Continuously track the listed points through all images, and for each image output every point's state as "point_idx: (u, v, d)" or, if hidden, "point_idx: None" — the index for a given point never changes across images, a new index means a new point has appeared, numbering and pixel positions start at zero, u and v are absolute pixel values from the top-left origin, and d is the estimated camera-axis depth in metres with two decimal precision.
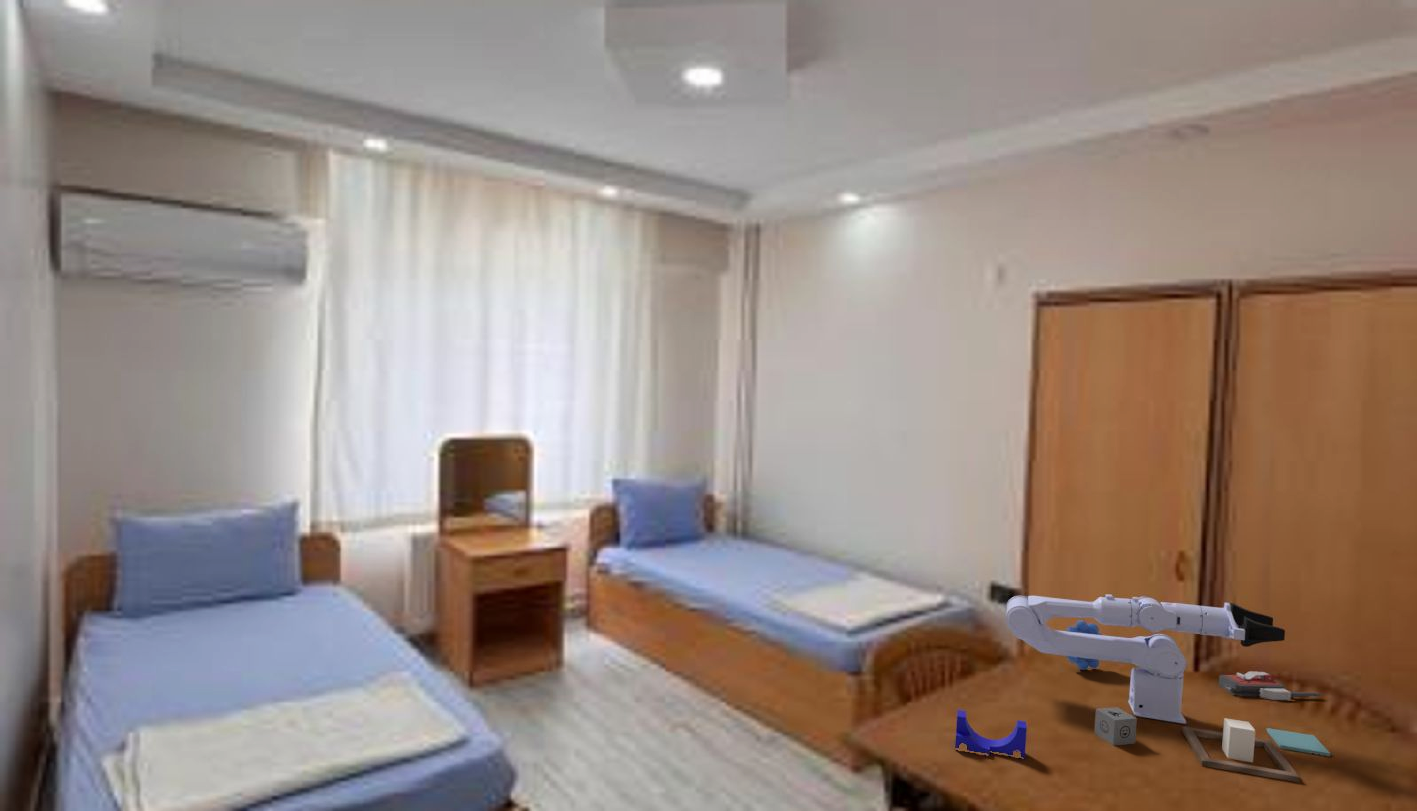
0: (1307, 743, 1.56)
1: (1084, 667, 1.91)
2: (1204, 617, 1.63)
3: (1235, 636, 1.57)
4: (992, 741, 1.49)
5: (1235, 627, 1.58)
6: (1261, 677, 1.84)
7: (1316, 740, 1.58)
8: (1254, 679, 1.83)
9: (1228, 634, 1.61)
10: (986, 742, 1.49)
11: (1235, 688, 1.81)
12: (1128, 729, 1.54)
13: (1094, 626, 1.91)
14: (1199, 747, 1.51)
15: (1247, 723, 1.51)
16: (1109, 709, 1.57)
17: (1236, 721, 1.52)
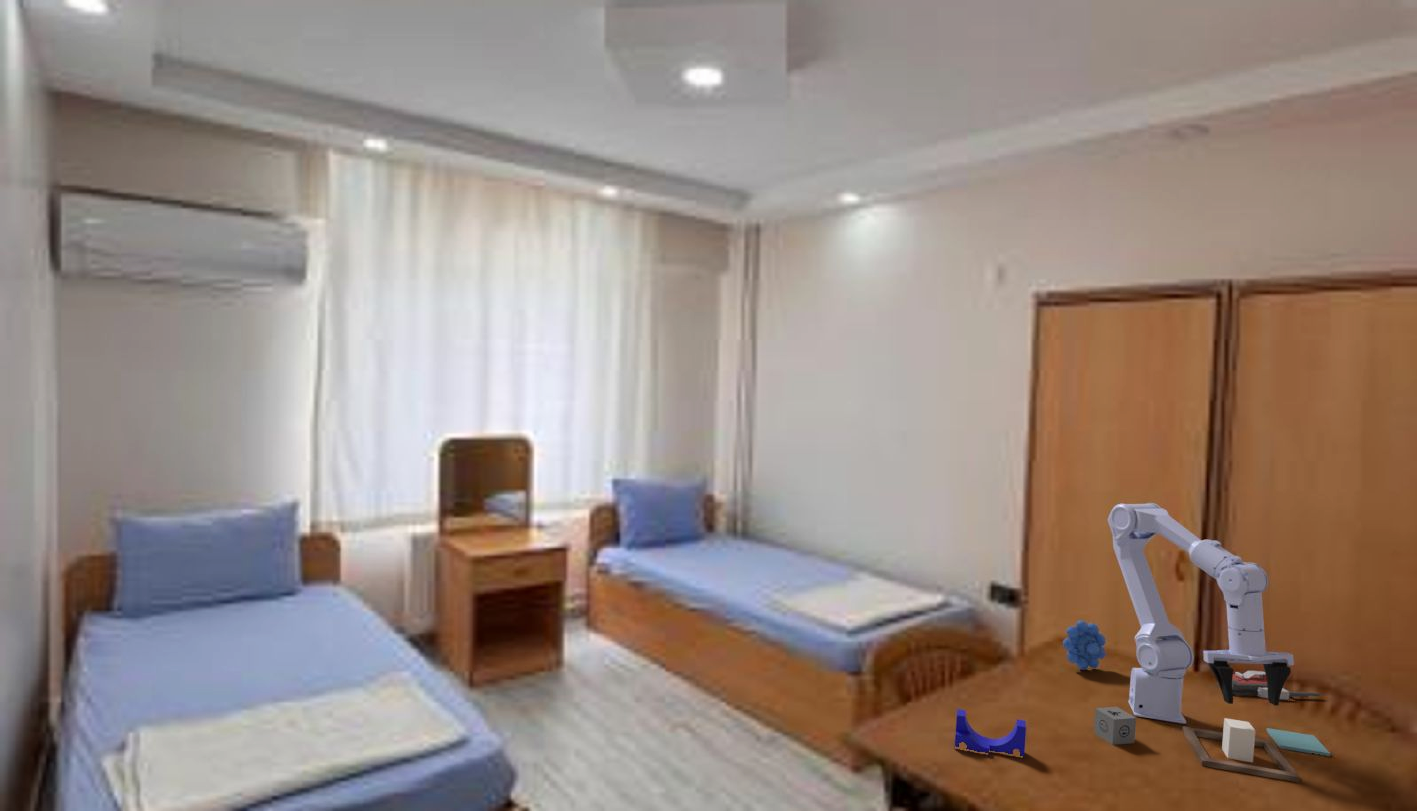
0: (1307, 743, 1.56)
1: (1084, 667, 1.91)
2: (1234, 631, 1.51)
3: (1204, 652, 1.53)
4: (992, 740, 1.50)
5: (1213, 655, 1.51)
6: (1260, 676, 1.84)
7: (1316, 740, 1.58)
8: (1253, 678, 1.84)
9: (1228, 651, 1.53)
10: (986, 741, 1.49)
11: (1233, 687, 1.81)
12: (1127, 728, 1.54)
13: (1094, 626, 1.91)
14: (1199, 747, 1.51)
15: (1247, 723, 1.51)
16: (1108, 709, 1.58)
17: (1236, 721, 1.52)
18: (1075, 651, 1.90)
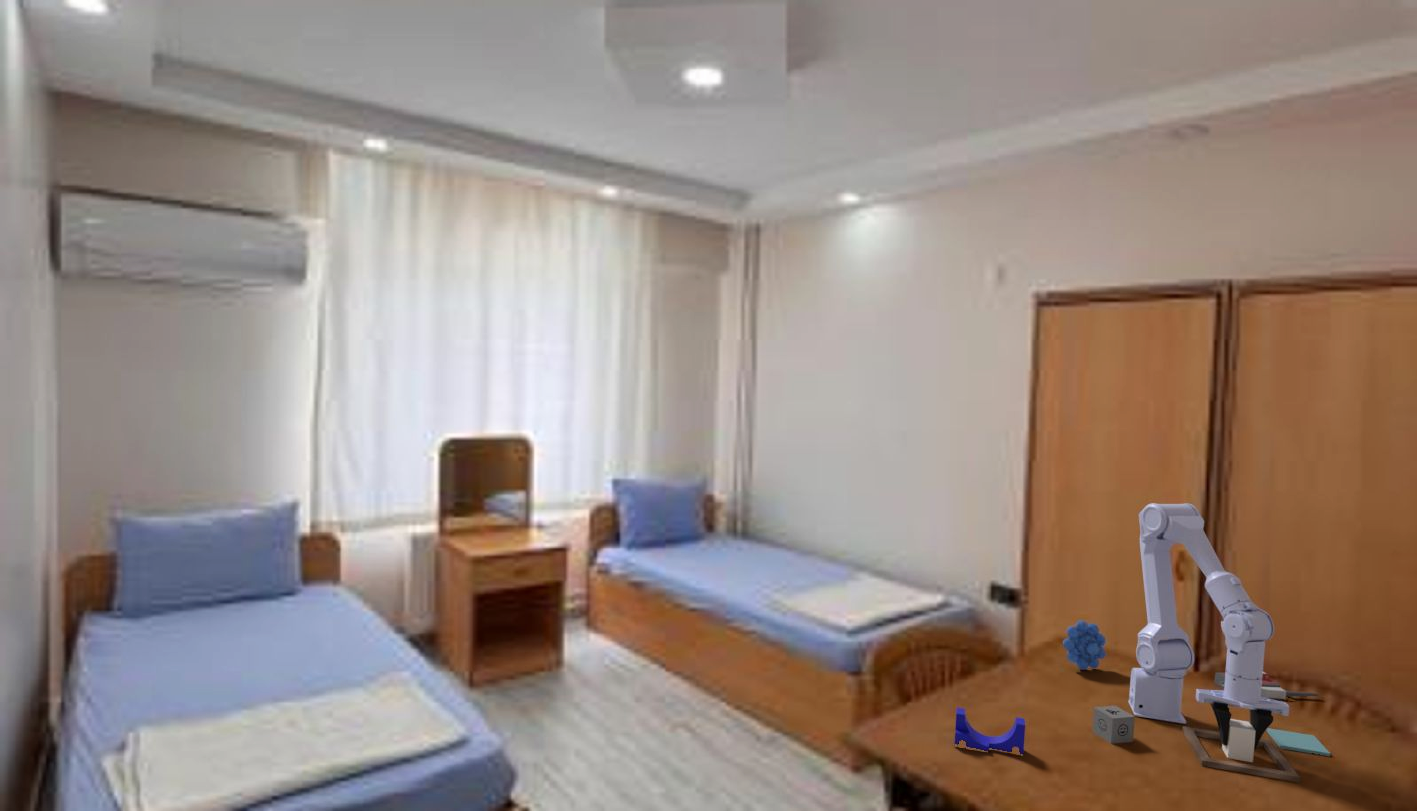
0: (1307, 743, 1.56)
1: (1084, 667, 1.91)
2: (1230, 675, 1.50)
3: (1196, 691, 1.53)
4: (991, 738, 1.50)
5: (1204, 695, 1.51)
6: None
7: (1316, 740, 1.58)
8: None
9: (1222, 692, 1.53)
10: (985, 739, 1.50)
11: None
12: (1126, 727, 1.54)
13: (1094, 626, 1.91)
14: (1199, 747, 1.51)
15: (1247, 723, 1.51)
16: (1107, 707, 1.58)
17: (1236, 721, 1.52)
18: (1075, 651, 1.90)
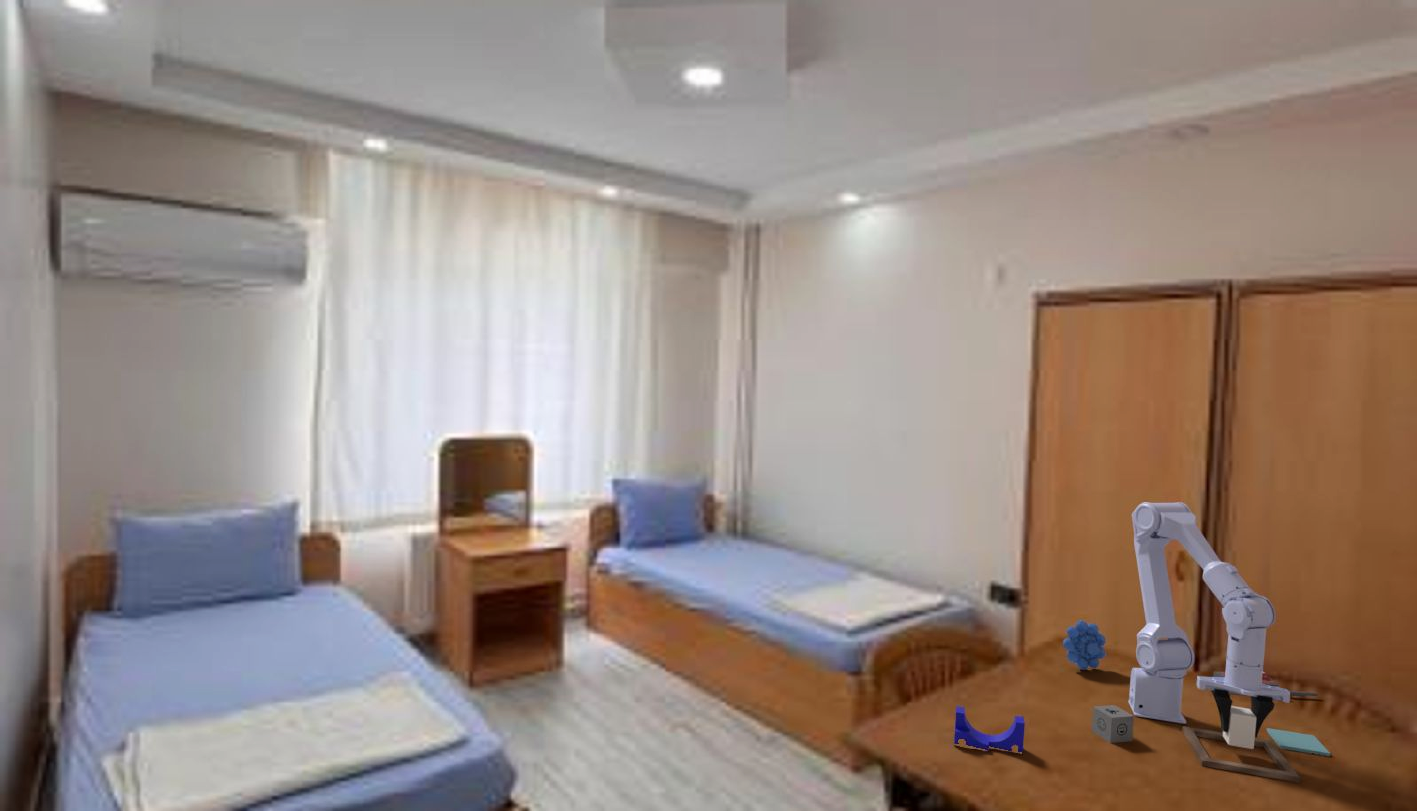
0: (1307, 743, 1.56)
1: (1084, 667, 1.91)
2: (1231, 662, 1.50)
3: (1197, 678, 1.53)
4: (991, 737, 1.51)
5: (1205, 682, 1.51)
6: None
7: (1316, 740, 1.58)
8: None
9: (1223, 679, 1.53)
10: (985, 738, 1.50)
11: None
12: (1125, 726, 1.55)
13: (1094, 626, 1.91)
14: (1199, 747, 1.51)
15: (1248, 710, 1.51)
16: (1106, 707, 1.58)
17: (1237, 708, 1.52)
18: (1075, 651, 1.90)
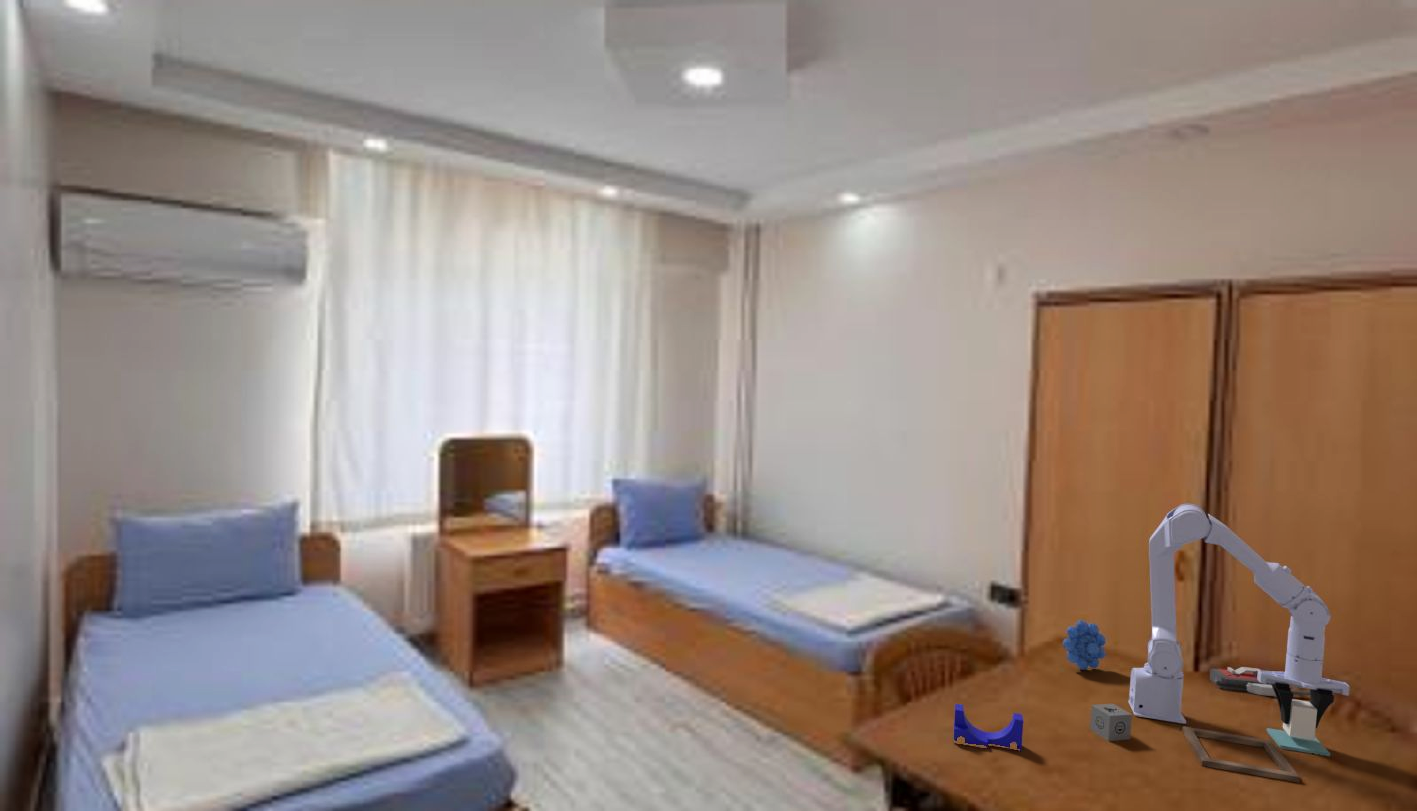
0: (1307, 743, 1.56)
1: (1084, 667, 1.91)
2: (1291, 657, 1.56)
3: (1258, 672, 1.59)
4: (990, 734, 1.52)
5: (1266, 676, 1.58)
6: (1254, 673, 1.86)
7: (1316, 740, 1.58)
8: (1245, 674, 1.86)
9: (1283, 673, 1.59)
10: (984, 735, 1.52)
11: (1221, 681, 1.84)
12: (1123, 724, 1.55)
13: (1094, 626, 1.91)
14: (1199, 747, 1.51)
15: (1308, 703, 1.57)
16: (1104, 705, 1.59)
17: (1297, 701, 1.58)
18: (1075, 651, 1.90)
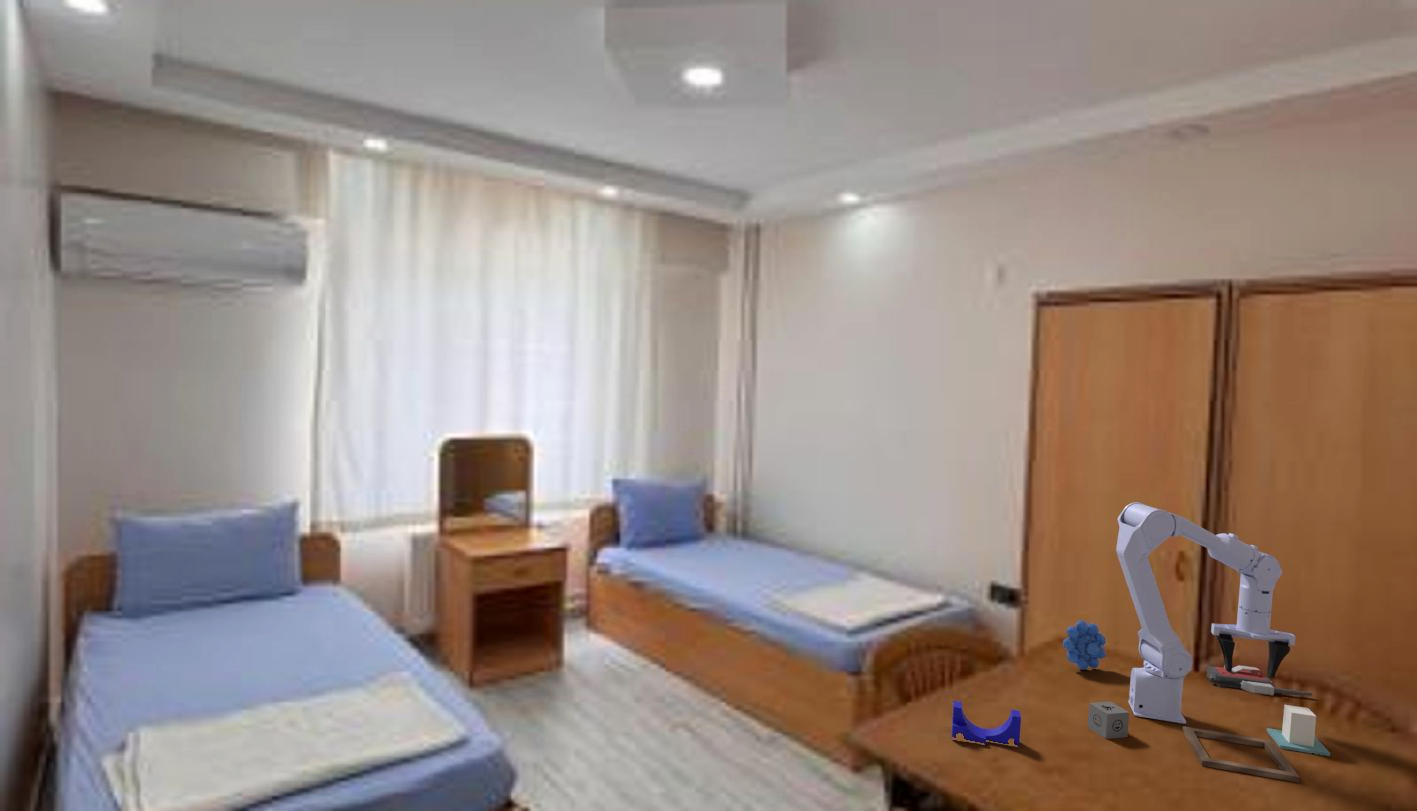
0: None
1: (1084, 667, 1.91)
2: (1242, 610, 1.67)
3: (1212, 625, 1.70)
4: (987, 730, 1.54)
5: (1219, 629, 1.69)
6: (1251, 672, 1.87)
7: (1316, 740, 1.58)
8: (1242, 673, 1.87)
9: (1235, 626, 1.70)
10: (982, 732, 1.53)
11: (1215, 678, 1.86)
12: (1121, 722, 1.56)
13: (1094, 626, 1.91)
14: (1199, 747, 1.51)
15: (1307, 709, 1.57)
16: (1102, 703, 1.60)
17: (1296, 707, 1.58)
18: (1075, 651, 1.90)
